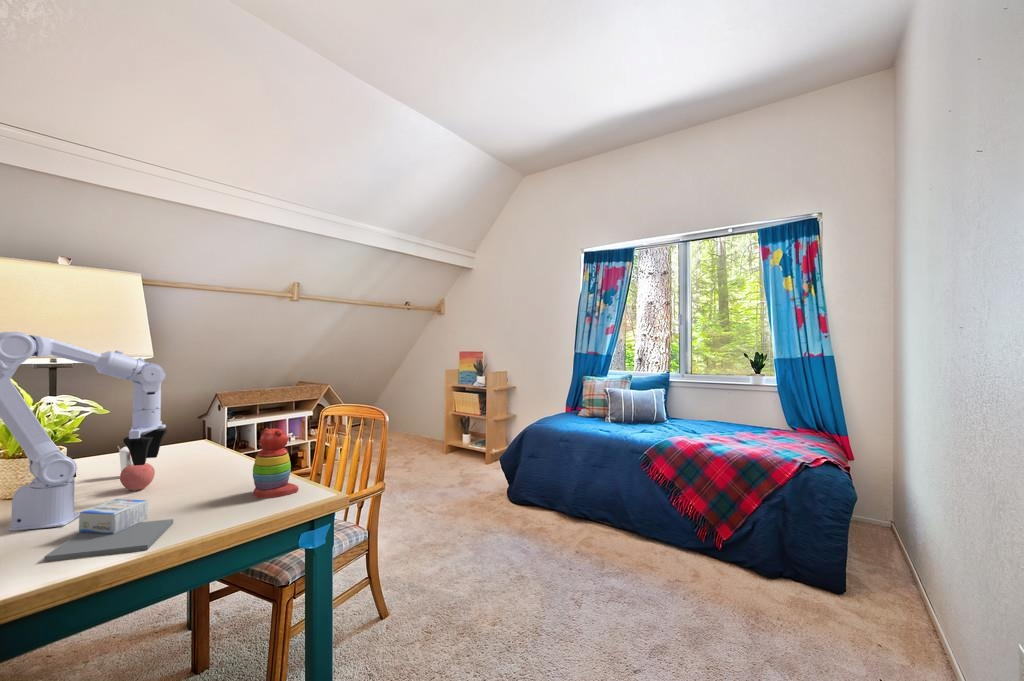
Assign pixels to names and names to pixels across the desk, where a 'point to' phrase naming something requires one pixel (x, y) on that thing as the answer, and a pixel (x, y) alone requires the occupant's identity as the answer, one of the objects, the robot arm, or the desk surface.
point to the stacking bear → (272, 466)
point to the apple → (137, 476)
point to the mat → (111, 541)
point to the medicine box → (113, 516)
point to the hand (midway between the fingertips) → (145, 461)
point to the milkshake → (125, 457)
